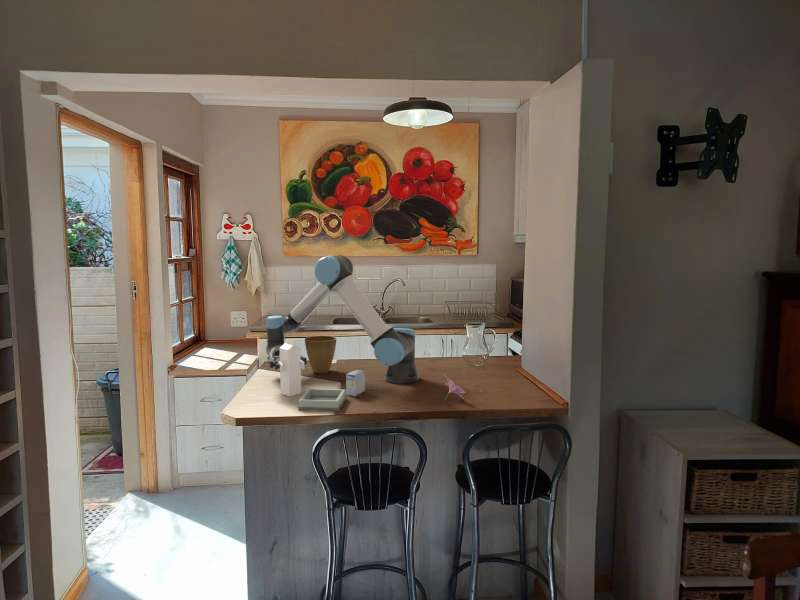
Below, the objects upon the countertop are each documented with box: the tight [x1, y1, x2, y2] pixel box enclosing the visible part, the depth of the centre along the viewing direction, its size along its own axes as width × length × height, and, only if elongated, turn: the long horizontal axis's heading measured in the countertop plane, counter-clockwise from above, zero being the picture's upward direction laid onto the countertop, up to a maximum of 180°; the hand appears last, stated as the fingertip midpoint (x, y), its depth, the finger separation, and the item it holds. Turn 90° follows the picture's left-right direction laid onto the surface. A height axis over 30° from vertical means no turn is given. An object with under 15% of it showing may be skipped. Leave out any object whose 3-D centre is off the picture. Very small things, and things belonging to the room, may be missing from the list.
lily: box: [443, 373, 466, 401], centre depth 198 cm, size 12×12×10 cm
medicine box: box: [345, 369, 366, 397], centre depth 206 cm, size 8×4×9 cm, turn 155°
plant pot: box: [304, 335, 337, 374], centre depth 239 cm, size 15×15×16 cm
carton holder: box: [297, 388, 347, 412], centre depth 193 cm, size 15×15×4 cm
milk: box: [279, 338, 302, 397], centre depth 205 cm, size 6×6×22 cm
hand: (293, 367), depth 200 cm, fingers closed on milk, 8 cm apart
